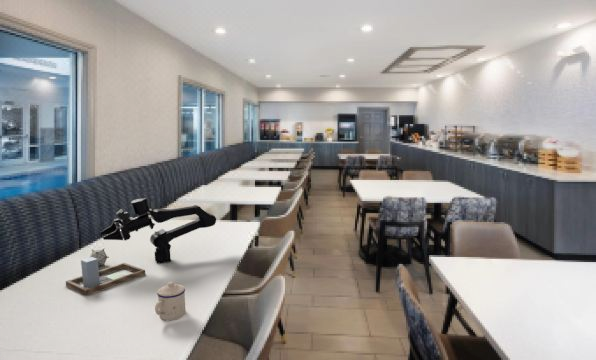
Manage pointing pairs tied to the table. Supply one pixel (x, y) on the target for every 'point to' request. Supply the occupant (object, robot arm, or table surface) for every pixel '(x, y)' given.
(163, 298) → the teacup with lid
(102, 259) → the game die
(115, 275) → the pad
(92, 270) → the slate-blue block
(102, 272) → the frame
